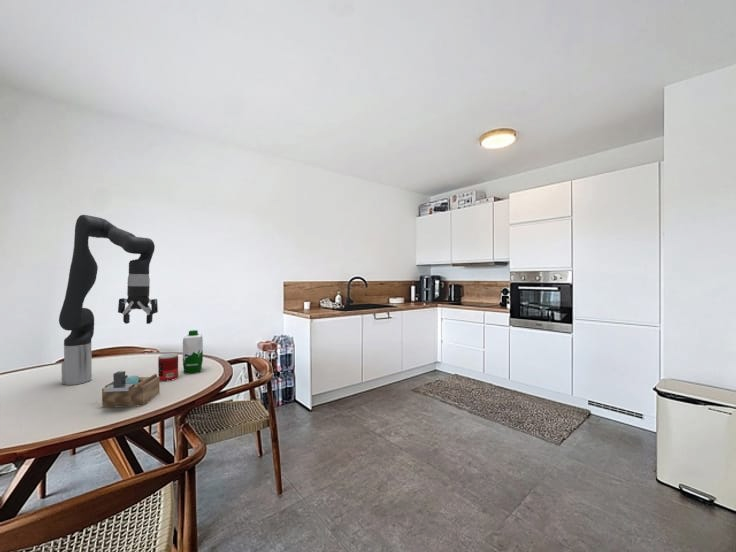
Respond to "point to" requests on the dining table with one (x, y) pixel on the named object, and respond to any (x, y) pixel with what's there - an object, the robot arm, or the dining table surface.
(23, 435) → the dining table surface
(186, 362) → the milk carton
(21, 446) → the dining table surface
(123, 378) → the latch bar
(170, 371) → the canned food
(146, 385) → the socket block
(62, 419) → the dining table surface
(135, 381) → the dowel
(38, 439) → the dining table surface
